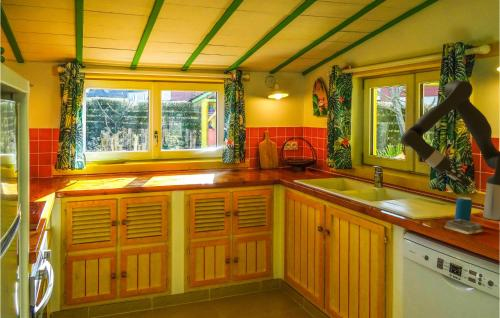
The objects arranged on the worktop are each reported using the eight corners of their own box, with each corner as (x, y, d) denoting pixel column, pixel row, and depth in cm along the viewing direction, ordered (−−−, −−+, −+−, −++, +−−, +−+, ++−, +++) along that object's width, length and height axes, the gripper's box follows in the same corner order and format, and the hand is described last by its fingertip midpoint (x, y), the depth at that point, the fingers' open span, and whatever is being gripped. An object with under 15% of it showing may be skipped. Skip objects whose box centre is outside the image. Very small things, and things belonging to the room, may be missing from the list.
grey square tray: (459, 225, 198) (459, 218, 198) (482, 231, 189) (483, 224, 189) (444, 227, 193) (444, 221, 192) (467, 234, 183) (468, 227, 183)
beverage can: (458, 220, 207) (461, 196, 205) (472, 224, 201) (475, 198, 200) (451, 222, 203) (454, 197, 201) (465, 225, 198) (468, 200, 196)
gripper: (447, 154, 194) (477, 178, 192) (440, 155, 208) (468, 178, 205) (435, 167, 195) (465, 191, 192) (429, 167, 209) (457, 190, 206)
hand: (467, 184), depth 199 cm, fingers open, 8 cm apart
